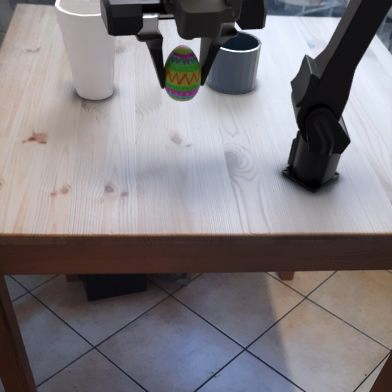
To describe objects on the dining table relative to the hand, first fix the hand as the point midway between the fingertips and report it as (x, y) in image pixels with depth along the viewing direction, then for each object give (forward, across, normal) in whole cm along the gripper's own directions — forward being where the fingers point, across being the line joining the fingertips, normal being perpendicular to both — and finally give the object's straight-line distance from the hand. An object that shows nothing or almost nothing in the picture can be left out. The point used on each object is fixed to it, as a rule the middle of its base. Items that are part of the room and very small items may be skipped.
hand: (181, 86), depth 63 cm
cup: (+12, +16, +25) cm, 32 cm away
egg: (+1, 0, 0) cm, 1 cm away
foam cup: (+12, -9, +25) cm, 29 cm away
